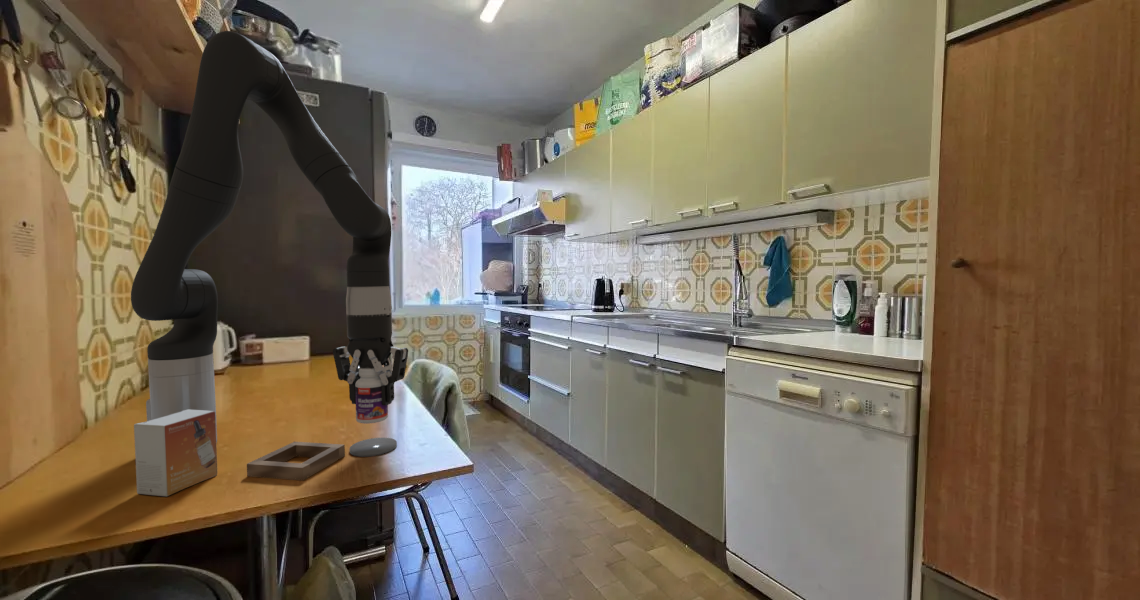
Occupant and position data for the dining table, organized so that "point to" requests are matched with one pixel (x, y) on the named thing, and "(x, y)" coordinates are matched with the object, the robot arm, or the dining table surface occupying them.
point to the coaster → (373, 447)
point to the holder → (280, 469)
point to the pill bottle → (369, 397)
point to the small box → (175, 452)
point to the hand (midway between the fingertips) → (372, 403)
